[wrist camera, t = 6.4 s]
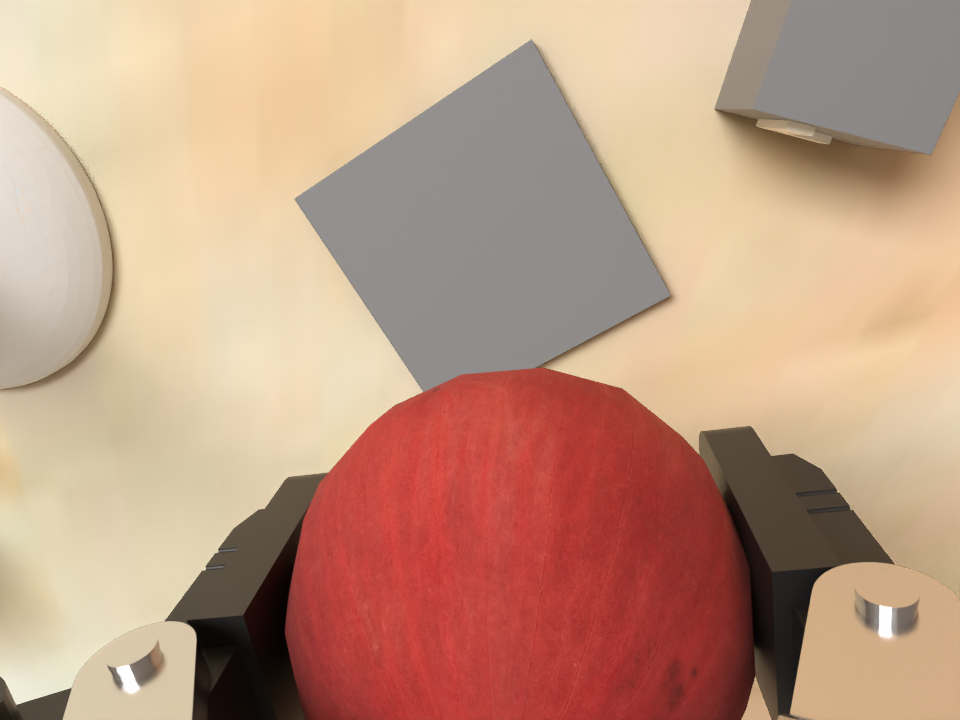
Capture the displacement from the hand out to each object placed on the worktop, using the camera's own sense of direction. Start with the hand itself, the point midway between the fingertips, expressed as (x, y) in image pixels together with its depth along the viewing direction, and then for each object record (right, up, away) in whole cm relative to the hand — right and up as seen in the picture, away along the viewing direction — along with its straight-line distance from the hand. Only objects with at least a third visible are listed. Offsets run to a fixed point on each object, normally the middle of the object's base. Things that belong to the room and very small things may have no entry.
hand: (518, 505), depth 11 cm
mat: (-1, +7, +15) cm, 16 cm away
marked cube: (+10, +12, +12) cm, 20 cm away
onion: (0, +1, +2) cm, 2 cm away
